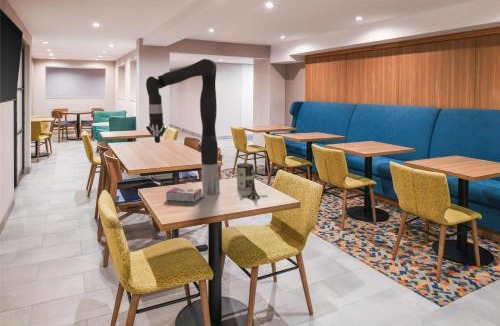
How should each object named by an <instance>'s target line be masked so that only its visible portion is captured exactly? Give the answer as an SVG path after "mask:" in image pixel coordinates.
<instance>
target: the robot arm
mask: <svg viewBox="0 0 500 326" xmlns="http://www.w3.org/2000/svg"><path fill="white" fill-rule="evenodd" d="M216 76H217V64H216V62H215V61H214V60H212V59H210V58H203V59H200V60H199V61H197V62H195V63H192V64H190V65H187V66H185V67H181V68H177V69H174V70H171V71H170V70H169V71H167V72H165V73H163V74H160V75H158V76H149V77H147V79H146V81H145V87H146V91H147V96H148V115H149V116H148V117H149V124H148V126H146V127H145V128H146V130H147V131H148V133H149V134H150V135H151V136H153V137H154V142H155V143H156V144H160V142H161V136H164V134H165V133H166V131H167V129H168V126H167V125H165V124H164V115H163V114H164V112H163V101H162V100H163V99H162V95H161V94H160V89H162V88H166V87H167V86H168V87H169V86H172V85H175V84H178V83H182V82H185V81H186V80H189V79H191V78H195V77H201V79H202V81H201V82H202V87H201V88H202V89H201V92H200V98H199V99H200V100H199V113H200V120H201V127H202V132H201V140H200V154H201V155H200V157H201V158H200V159H201V160H200V162H201V184H202V186H201V187H202V188H201V189H202V194H204V195H217V194H218V193H220V191H221V189H220V186H221V185H220V175H219V169H218V168H219V162H218V160H219V156H218V155H219V154H218V153H219V152H218V149H219V148H218V141H217V133H216V121H217V112H218V111H217V104H218V103H217V90H216V89H217V88H216V80H217V77H216Z"/></svg>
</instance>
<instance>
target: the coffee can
mask: <svg viewBox="0 0 500 326" xmlns="http://www.w3.org/2000/svg"><path fill="white" fill-rule="evenodd" d="M253 177H254V163H247V162H246V163H244V162H243V163H237V164H236V188H237V189H239V190H250V189H251V190H252V187H253Z"/></svg>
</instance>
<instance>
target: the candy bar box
mask: <svg viewBox="0 0 500 326" xmlns="http://www.w3.org/2000/svg"><path fill="white" fill-rule="evenodd" d="M202 196H203V191H202V188H195V187H194V188H191V187H173V188H171V189H169V190H168V191H166V193H165V198H166V201H185V202H196V201H197V200H198V199H199V198H201V197H202Z"/></svg>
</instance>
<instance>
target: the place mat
mask: <svg viewBox="0 0 500 326" xmlns="http://www.w3.org/2000/svg"><path fill="white" fill-rule="evenodd" d="M206 198H207V196H203V195H202V197H201V198H199V199H198V200H197V201H196V202H185V201H167V200H166V201H165V202H164V204H170V205H171V204H172V205H181V206H182V205H183V206H193V207H194V206H196V205H197V204H199V203H200V202H202V201H203V200H205V199H206Z"/></svg>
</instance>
